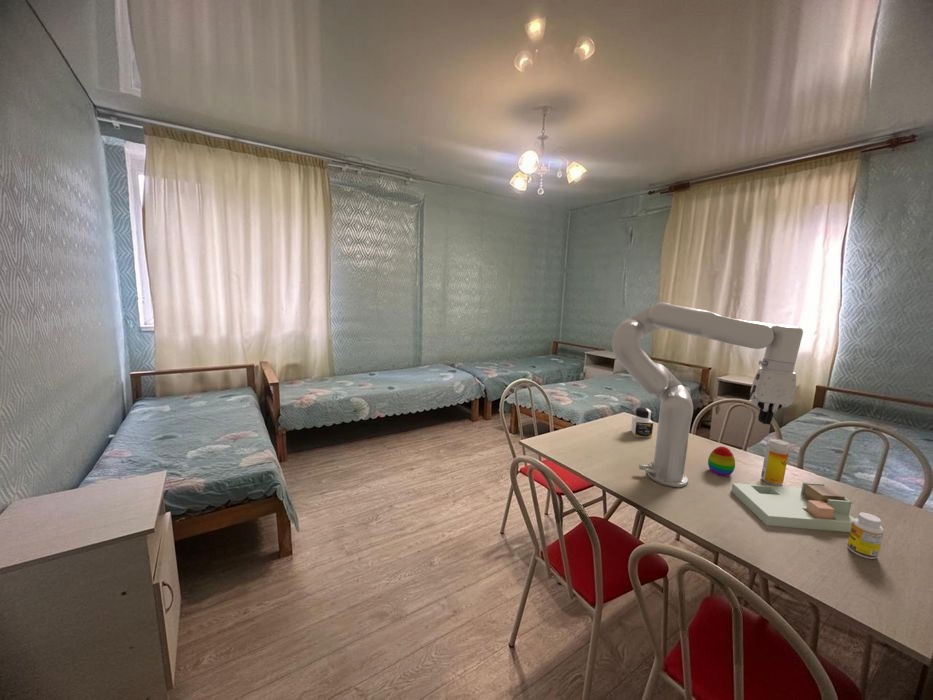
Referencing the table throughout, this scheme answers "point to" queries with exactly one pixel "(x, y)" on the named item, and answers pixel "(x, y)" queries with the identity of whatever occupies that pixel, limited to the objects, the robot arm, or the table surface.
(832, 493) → the walnut block
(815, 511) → the terracotta block
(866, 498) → the table surface
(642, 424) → the medicine bottle
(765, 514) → the board
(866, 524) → the supplement bottle
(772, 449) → the pill bottle
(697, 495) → the table surface
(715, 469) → the decorative egg
